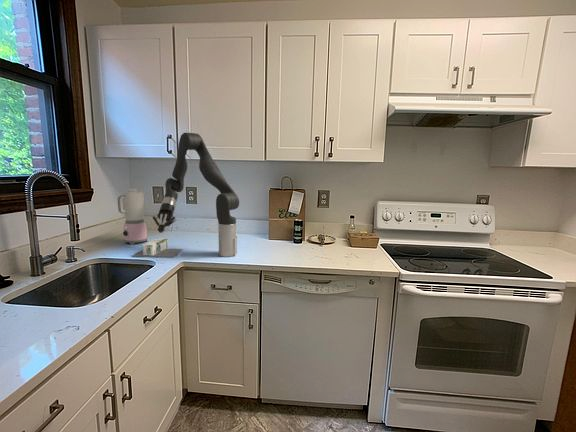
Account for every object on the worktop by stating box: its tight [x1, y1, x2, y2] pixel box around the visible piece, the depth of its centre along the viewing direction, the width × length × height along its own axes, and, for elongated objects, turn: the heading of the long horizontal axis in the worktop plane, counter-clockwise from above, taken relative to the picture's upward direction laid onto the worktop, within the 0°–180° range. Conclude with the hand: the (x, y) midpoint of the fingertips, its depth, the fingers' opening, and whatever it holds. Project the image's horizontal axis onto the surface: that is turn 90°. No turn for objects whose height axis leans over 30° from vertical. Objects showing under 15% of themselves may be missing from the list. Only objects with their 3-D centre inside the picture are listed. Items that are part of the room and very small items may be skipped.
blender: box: [117, 188, 148, 246], centre depth 171 cm, size 16×12×32 cm
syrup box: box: [142, 237, 169, 256], centre depth 155 cm, size 6×6×14 cm
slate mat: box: [131, 248, 183, 259], centre depth 154 cm, size 21×14×1 cm, turn 91°
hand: (160, 231), depth 156 cm, fingers closed
